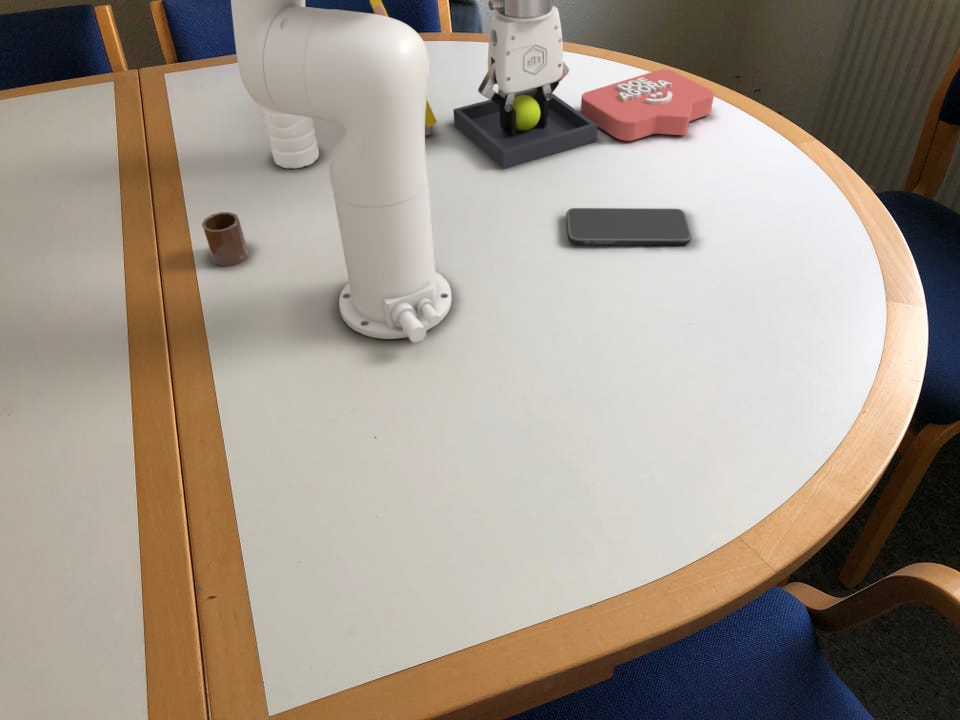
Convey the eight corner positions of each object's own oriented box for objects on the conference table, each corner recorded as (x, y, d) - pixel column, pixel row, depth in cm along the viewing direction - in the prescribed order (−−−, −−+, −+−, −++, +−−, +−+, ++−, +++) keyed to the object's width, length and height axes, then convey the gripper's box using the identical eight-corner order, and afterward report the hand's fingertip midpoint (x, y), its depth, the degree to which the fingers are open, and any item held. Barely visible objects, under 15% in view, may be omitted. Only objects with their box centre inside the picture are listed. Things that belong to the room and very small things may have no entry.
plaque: (639, 129, 110) (576, 91, 120) (636, 154, 113) (574, 115, 123) (734, 96, 117) (666, 63, 126) (729, 121, 119) (663, 86, 129)
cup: (252, 259, 97) (242, 225, 94) (217, 270, 96) (207, 235, 92) (242, 242, 100) (233, 208, 96) (209, 252, 98) (198, 218, 95)
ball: (546, 131, 118) (547, 98, 114) (517, 139, 116) (517, 106, 113) (529, 118, 121) (529, 86, 118) (500, 126, 119) (500, 94, 116)
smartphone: (693, 240, 95) (568, 239, 96) (692, 247, 96) (568, 246, 97) (683, 207, 101) (565, 207, 101) (682, 213, 101) (565, 213, 102)
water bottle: (323, 147, 117) (291, -33, 100) (313, 170, 113) (277, -16, 96) (266, 147, 118) (224, -33, 101) (253, 169, 113) (207, -16, 96)
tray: (596, 141, 116) (597, 124, 114) (503, 169, 111) (503, 152, 109) (541, 101, 126) (541, 85, 125) (454, 125, 121) (453, 109, 120)
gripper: (482, 22, 101) (486, 153, 113) (593, -3, 106) (585, 123, 119) (455, 5, 106) (462, 131, 118) (563, -19, 111) (558, 104, 124)
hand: (524, 126), depth 118 cm, fingers closed on ball, 4 cm apart
